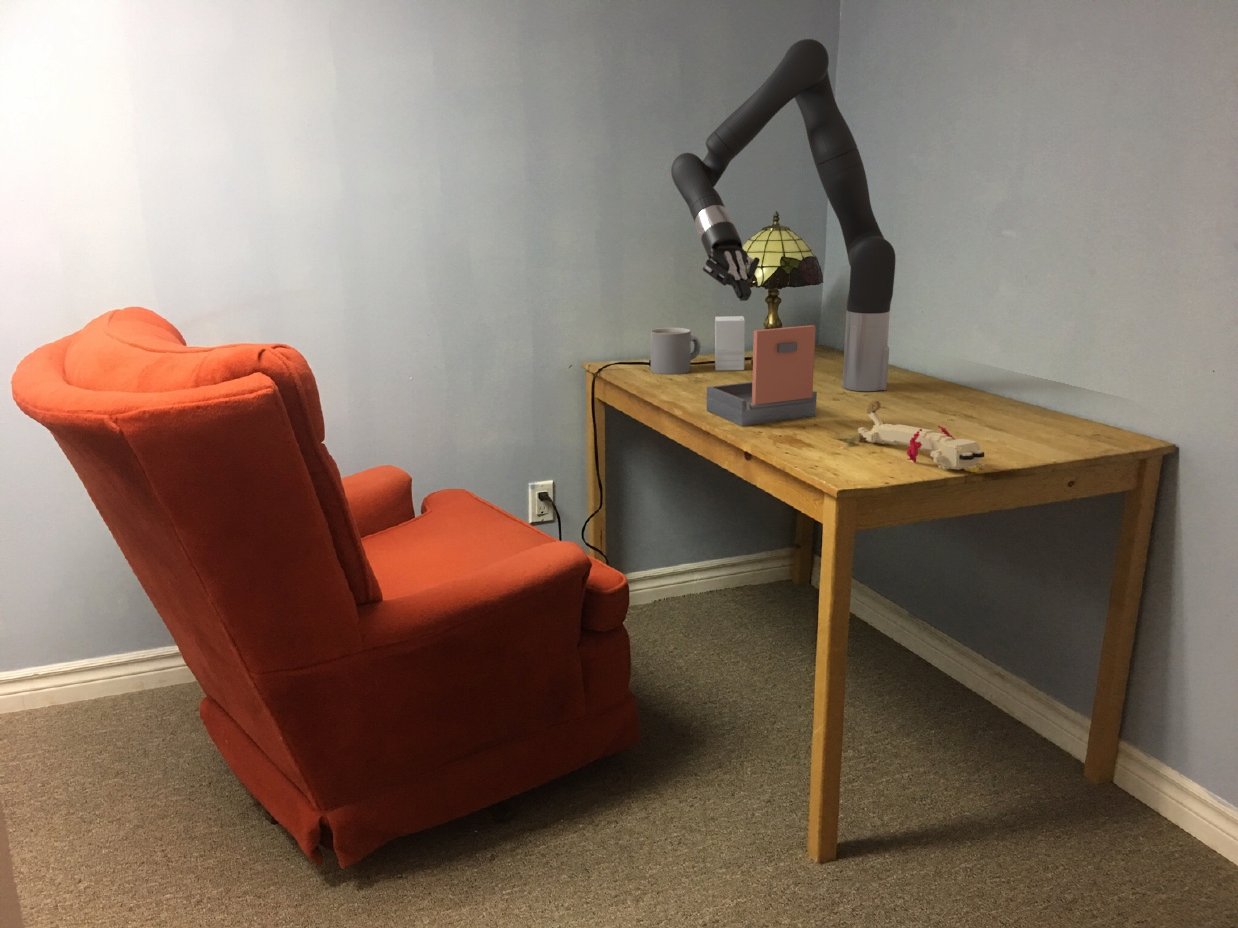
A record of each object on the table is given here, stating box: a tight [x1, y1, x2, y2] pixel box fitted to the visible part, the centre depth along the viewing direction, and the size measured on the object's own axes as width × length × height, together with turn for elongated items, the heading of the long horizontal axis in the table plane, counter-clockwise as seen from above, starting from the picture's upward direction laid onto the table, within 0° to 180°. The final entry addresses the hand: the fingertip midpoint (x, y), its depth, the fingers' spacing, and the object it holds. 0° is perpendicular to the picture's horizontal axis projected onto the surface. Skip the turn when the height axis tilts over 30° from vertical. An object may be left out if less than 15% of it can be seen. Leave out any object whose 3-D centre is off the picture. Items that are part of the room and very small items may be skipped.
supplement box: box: [714, 315, 746, 371], centre depth 229 cm, size 7×7×13 cm
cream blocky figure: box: [855, 400, 986, 473], centre depth 155 cm, size 10×9×25 cm
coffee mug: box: [649, 327, 701, 376], centre depth 228 cm, size 13×10×10 cm
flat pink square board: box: [750, 324, 817, 410], centre depth 175 cm, size 2×14×15 cm, turn 114°
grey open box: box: [706, 381, 818, 427], centre depth 185 cm, size 14×17×5 cm
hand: (746, 298), depth 185 cm, fingers closed
